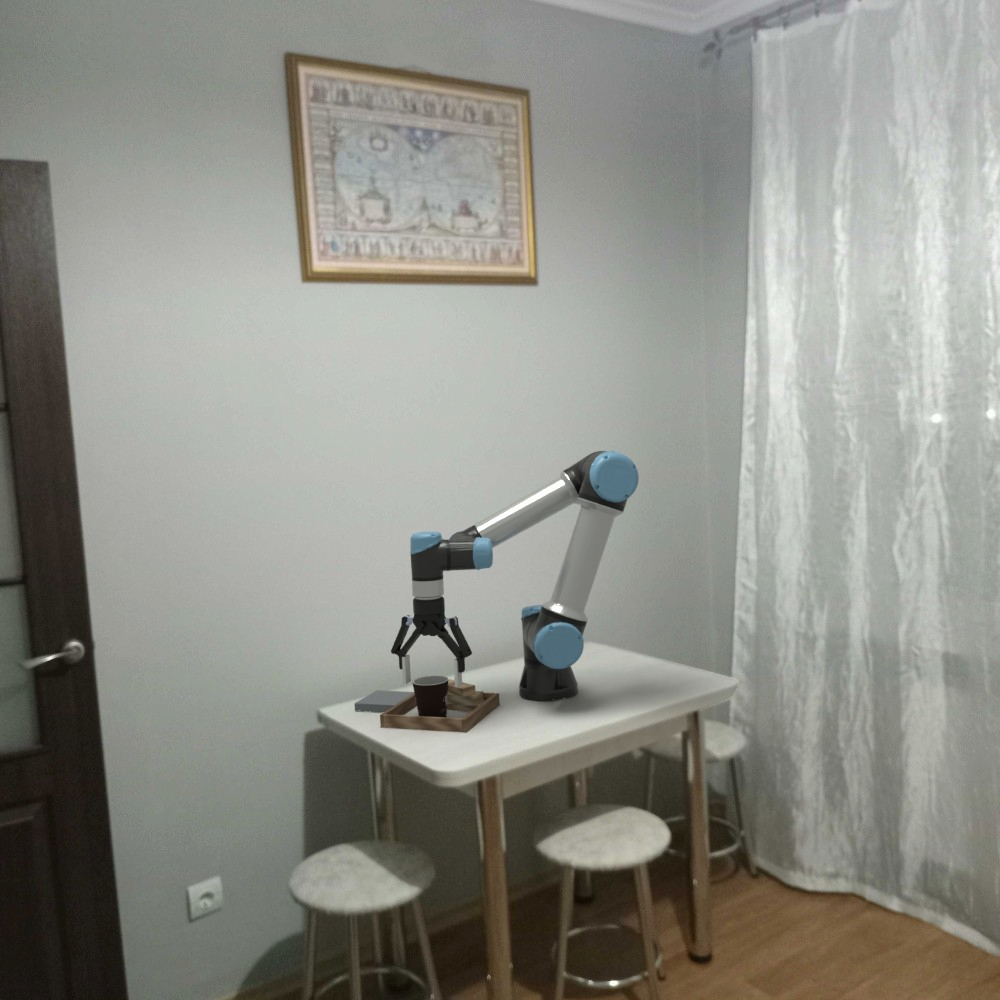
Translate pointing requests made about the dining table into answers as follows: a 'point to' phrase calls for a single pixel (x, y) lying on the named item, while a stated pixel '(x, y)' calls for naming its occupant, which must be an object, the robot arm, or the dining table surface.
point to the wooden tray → (399, 720)
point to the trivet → (381, 700)
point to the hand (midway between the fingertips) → (432, 684)
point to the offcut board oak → (462, 707)
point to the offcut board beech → (461, 689)
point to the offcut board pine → (466, 699)
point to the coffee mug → (431, 695)
